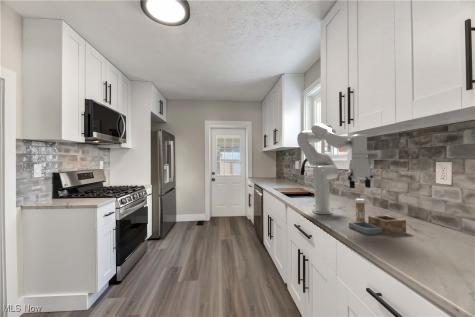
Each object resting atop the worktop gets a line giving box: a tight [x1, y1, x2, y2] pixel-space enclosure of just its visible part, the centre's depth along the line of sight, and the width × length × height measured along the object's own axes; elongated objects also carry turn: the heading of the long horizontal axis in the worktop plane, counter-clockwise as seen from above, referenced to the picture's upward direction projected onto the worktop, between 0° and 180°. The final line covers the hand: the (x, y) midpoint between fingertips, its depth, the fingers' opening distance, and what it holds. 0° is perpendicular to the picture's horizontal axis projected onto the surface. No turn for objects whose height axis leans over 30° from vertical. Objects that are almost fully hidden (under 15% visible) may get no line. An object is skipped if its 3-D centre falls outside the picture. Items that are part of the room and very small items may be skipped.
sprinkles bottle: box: [354, 198, 366, 222], centre depth 122 cm, size 5×5×13 cm
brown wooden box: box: [367, 214, 407, 235], centre depth 110 cm, size 11×11×6 cm
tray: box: [348, 221, 384, 236], centre depth 110 cm, size 12×9×2 cm
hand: (360, 187), depth 122 cm, fingers open, 9 cm apart
